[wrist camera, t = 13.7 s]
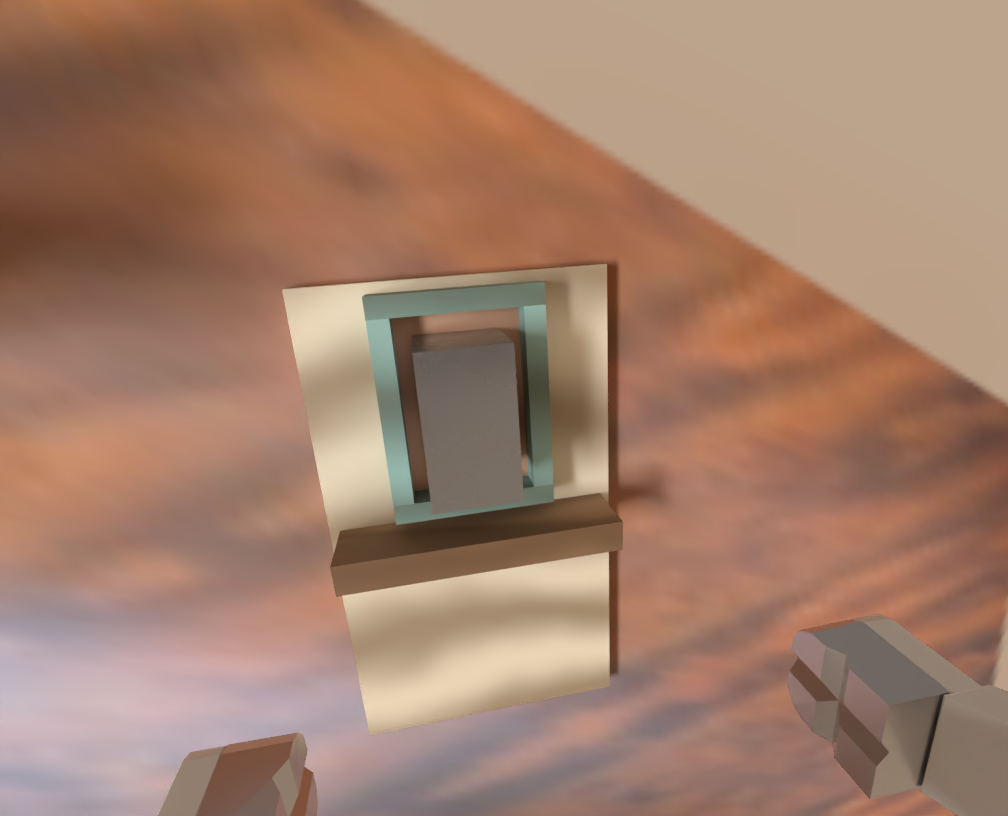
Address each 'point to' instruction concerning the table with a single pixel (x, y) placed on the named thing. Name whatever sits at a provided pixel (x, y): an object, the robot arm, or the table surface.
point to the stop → (469, 418)
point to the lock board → (474, 532)
